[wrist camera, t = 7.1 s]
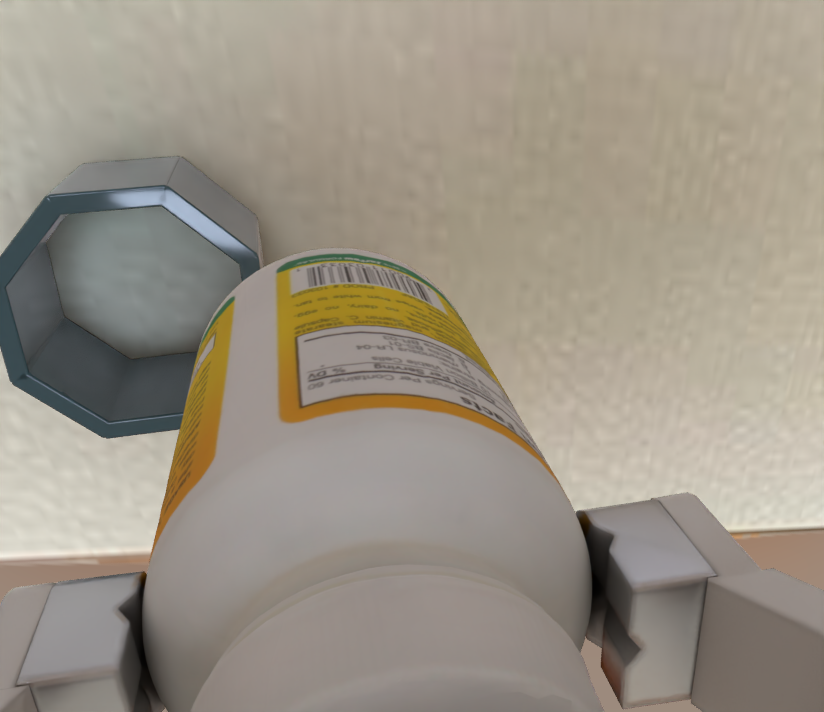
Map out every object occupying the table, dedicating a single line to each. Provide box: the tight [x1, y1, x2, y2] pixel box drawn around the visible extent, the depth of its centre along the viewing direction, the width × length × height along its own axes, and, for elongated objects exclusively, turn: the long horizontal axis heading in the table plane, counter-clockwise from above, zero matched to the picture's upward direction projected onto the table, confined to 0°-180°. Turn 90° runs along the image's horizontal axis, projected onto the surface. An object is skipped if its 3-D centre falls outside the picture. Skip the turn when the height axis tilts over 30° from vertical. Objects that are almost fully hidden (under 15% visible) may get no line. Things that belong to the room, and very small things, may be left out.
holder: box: [0, 156, 264, 439], centre depth 26 cm, size 8×8×5 cm
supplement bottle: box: [142, 248, 604, 712], centre depth 11 cm, size 5×5×10 cm
